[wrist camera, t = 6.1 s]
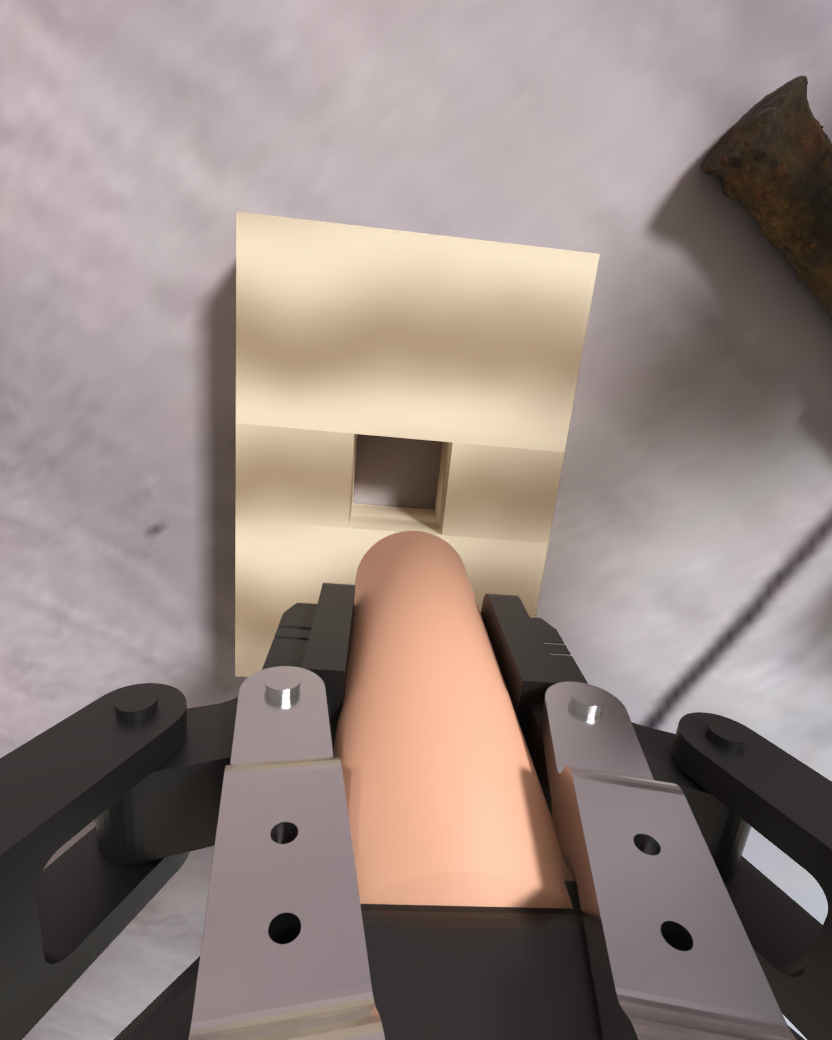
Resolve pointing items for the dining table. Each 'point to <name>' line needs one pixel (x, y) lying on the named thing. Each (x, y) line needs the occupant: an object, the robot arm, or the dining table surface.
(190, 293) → the dining table surface
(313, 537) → the hole block
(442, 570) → the peg
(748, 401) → the dining table surface
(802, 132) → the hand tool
